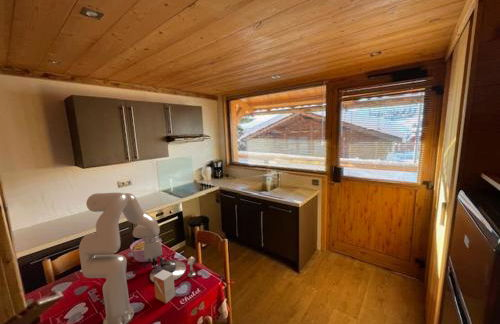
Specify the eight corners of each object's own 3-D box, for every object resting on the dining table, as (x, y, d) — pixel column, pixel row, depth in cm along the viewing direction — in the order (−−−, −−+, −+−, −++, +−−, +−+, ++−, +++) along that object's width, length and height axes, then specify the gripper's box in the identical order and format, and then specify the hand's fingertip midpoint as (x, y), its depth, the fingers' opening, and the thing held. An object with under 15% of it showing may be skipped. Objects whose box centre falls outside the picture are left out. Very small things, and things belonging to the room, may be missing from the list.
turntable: (192, 271, 134) (191, 262, 133) (158, 289, 120) (157, 279, 119) (176, 258, 149) (175, 250, 148) (144, 273, 135) (143, 264, 134)
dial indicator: (197, 274, 131) (195, 256, 130) (190, 278, 128) (188, 260, 127) (193, 271, 135) (191, 254, 133) (186, 275, 132) (185, 257, 130)
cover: (178, 269, 135) (177, 262, 135) (167, 274, 130) (166, 267, 130) (173, 265, 140) (172, 257, 139) (162, 270, 135) (161, 262, 134)
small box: (155, 298, 113) (153, 275, 112) (165, 290, 119) (163, 269, 117) (165, 304, 109) (163, 280, 108) (175, 295, 115) (173, 273, 113)
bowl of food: (168, 255, 155) (167, 240, 153) (142, 270, 138) (140, 253, 136) (152, 248, 165) (150, 234, 164) (125, 262, 148) (123, 246, 147)
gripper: (138, 244, 130) (141, 272, 132) (164, 238, 136) (167, 265, 138) (138, 239, 136) (142, 266, 139) (164, 233, 142) (166, 259, 145)
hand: (154, 265), depth 138 cm, fingers closed
